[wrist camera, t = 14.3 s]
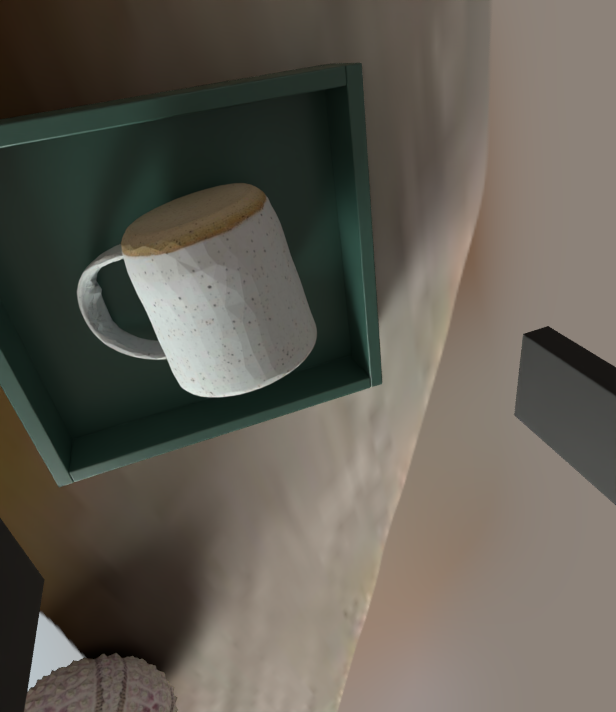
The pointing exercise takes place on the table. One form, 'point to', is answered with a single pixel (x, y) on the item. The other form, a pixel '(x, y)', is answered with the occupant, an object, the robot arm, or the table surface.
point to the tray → (146, 192)
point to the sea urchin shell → (103, 687)
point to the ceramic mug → (210, 292)
